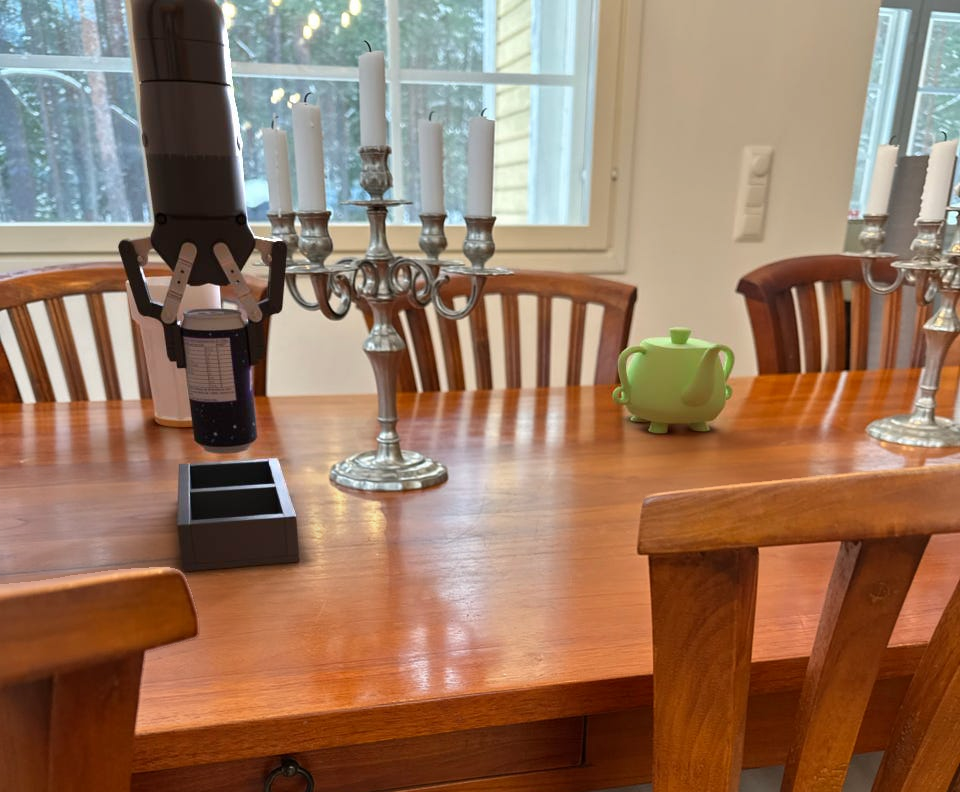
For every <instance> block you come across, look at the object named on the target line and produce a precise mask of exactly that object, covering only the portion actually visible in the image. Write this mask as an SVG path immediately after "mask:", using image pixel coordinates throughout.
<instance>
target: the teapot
mask: <svg viewBox="0 0 960 792" xmlns="http://www.w3.org/2000/svg"><path fill="white" fill-rule="evenodd" d="M668 333H669V336H666V337H665V336H664V337H663V336H662V337H660V336H657V337H647V338H646V337H645V338H644V339H643V340H642V341H641V342H640V344H639V345H636V344H635V345H631V346H628V347H627V348H625V349H623V351H622V352H621V353H620V354H619V356H618V359H617V371H618V377H619V381H620V386H618V387H616V388H615V389H614V390H613V392H612V401H613V402H614V404H616V405H618V406H625V408H626V410H627V411H628V413H630V414H631V415H633V416H632V417H631V418H630V421H632V422H636V423H647V422H651V423H650V424H649V428H648V430H647V431H648V432H650V433H654V434H665V433H668V429H669V424H689V427H690V430H692V431H696V432H709V431H710V427H709V426H708V423H707V422H712V421H714V420H715V419H717V417H719V416H720V414H721V413H722V411H723V410H724V409H725V406H726V404H727V403H726V402H727V401H728V400H730V399H731V397H732V395H733V388H732V386H731V385H730V384H728V383H727V381H728V380H729V377H730V375H731V374H732V371H733V369H734V365H735V361H736V357H735V353H734V351H733V349H731V347H729V346H728V345H727V344H723V343H720V342H719V343H712V342H710V341H706V340H704V339H703V340H702V339H698V338H693V337H690V336H691V334H692V329H690V328H689V327H670V328H668ZM720 352H723V353H725V362H724V366H723V364H722V361H721V358H720V354H719V353H720ZM631 355H633V356H632V357H631V360H630V362H629V364H628V366H627V361H628V359H629V357H630V356H631ZM620 395H621V398H620Z"/></svg>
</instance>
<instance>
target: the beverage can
mask: <svg viewBox="0 0 960 792" xmlns="http://www.w3.org/2000/svg"><path fill="white" fill-rule="evenodd" d="M183 315H184V319H183V322H182V325H181V328H180V329H181V337H182V345H183V353H184V361H185V370H186V378H187V386H188V394H189V402H190V410H191V418H192V426H193V427H192V432H193V440H194V442H195V443H196V444H198V445H199V446H200V447H202V448H203V450H204V451H205V452H208V453H211V454H218V455H223V454H224V455H228V454H237V453H242V452H245V451H247V450H249V449H251V445H252V444H254V442H255V441H256V440H257V439H258V428H257V419H256V418H257V417H256V406H255V395H254V387H253V386H254V385H253V375H252V366H251V365H250V355H249V344H248V334H247V326H246V321H244V319H243V317H242V311H241V310H239V309H232V308H221V309H219V308H217V309H194V310H188V311H185V312H183Z"/></svg>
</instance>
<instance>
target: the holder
mask: <svg viewBox="0 0 960 792" xmlns="http://www.w3.org/2000/svg"><path fill="white" fill-rule="evenodd" d="M177 479H178V481H177V482H178V483H177V514H176V517H177V518H176V527H177V535H178V542H179V550H180V555H181V563H182V569H183V572H185V573H187V572H199V571H209V570H210V571H211V570H221V569H230V568H231V569H232V568H233V569H234V568H244V567H255V566H264V565H265V566H267V565H277V564H289V563H299V562H300V561H301V559H300V548H299V533H298V523H297V514H296V511H295V509H294V505H293V502H292V499H291V496H290V493H289V489H288V487H287V484H286V483H287V482H286V480H285V478H284V474H283V471H282V468H281V464H280V462H279V459H278V458H277V457H274V458H273V457H271V458H259V459H258V458H257V459H238V460H237V459H236V460H221V461H207V462H206V461H205V462H190V463H189V462H187V463H179V464H178V478H177Z"/></svg>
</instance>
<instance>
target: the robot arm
mask: <svg viewBox="0 0 960 792" xmlns="http://www.w3.org/2000/svg"><path fill="white" fill-rule="evenodd" d="M129 1H130V10H131V26H132V27H131V28H132V38H133V44H134V45H133V46H134V52H135V59H136V67H137V75H138V82H139V85H138V86H139V97H140V98H139V99H140V100H139V113H140V114H139V115H140V124H141V132H142V133H141V140H142V146H143V148H144V153H145V159H146V171H147V176H148V177H147V178H148V185H149V192H150V200H151V206H152V207H151V208H152V214H153V228H152V231H151V233H150V236H143V237H138V238H132V239H130V238H123V239H121V240H120V241H119V242H118V245H117V249H118V253H119V256H120V259H121V263H122V265H123V268H124V272H125V274H126V278H127V280H128V281H129V284H130V287H131V290H132V294H133V297H134V300H135V303H136V306H137V309H138V312H139V313H140V314H141V315H142V316H148V317H151V318H154V319H157V320H159V321H160V322H161V323H162V325H163V329H164V336H165V344H166V351H167V357H168V358H169V360H170V362H176V364H177V368H185V361H184V353H183V345H182V337H181V329H180V328H181V327H180V321H177V313H178V309H179V306H180V303H181V300H182V297H183V294H184V291H185V288H186V285H190V286H202V285H205V284H213V285H217V286H219V287H229V285H231V287H232V289H233V291H234V293H235V295H236V296H237V298H238V300H239V302H240V304H241V305H242V307H243V309H244V311H245V313H246V316H247V319H245V321H244V322H245V324H246V326H247V334H248V344H249V355H250V365H251V367H257V366H259V360H260V359H262V360H264V359H265V357H266V356H265V355H266V347H265V345H266V344H265V333H264V321H265V320H266V319H267V318H269V317H271V316H273V315H277V314H280V313H281V312H282V311H283V306H284V296H285V295H284V294H285V283H286V273H287V271H286V270H287V261H288V245H287V244H286V242H285V241H284V240H282V239H280V238H274V239H271V238H264V237H259V236H255V234H254V232H253V230H252V229H251V227H250V225H249V219H248V208H247V198H246V197H247V196H246V188H245V175H244V166H243V156H242V154H243V153H242V149H243V140H242V137H241V133H240V131H241V130H240V123H239V117H238V111H237V106H236V102H235V96H234V90H233V88H232V87H233V79H232V68H231V58H230V57H231V56H230V48H229V38H228V31H227V27H226V26H227V25H226V21H225V17H224V14H223V11H222V9H221V7H220V5H219V4H218V3H217V2H216V0H129ZM151 250H154V251H155V252H156V253H157V255H158V256H159V257H160V258H161V260H162V261H163V262H164V263H165V264H166V266H167V267H168V268H169V269H170V271H171V272H172V274H171V276H172V278H171V281H170V284H169V288H168V291H167V294H166V297H165V301H164V304H161V303H158V302H155V301H152V299H151V295H150V292H149V289H148V286H147V283H146V279H145V273H144V270H143V267H144V266H146V265H147V264H148V262H149V252H150V251H151ZM254 250H257V251H258V252H259V253H260V258H261V261H262V263H263V264H264V265H265V266H268V273H267V274H268V276H267V287H266V288H267V289H266V298H265V299H262V300H261V301H258V302H257V300H256V298H255V297H254V295H253V293H252V291H251V289H250V287H249V285H248V283H247V282H246V279H245V277H244V276H243V273H242V271H243V269H244V268H245V266H246V264H247V262H248V261H249V259H250V257H251V255H252V254H253V252H254Z"/></svg>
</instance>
